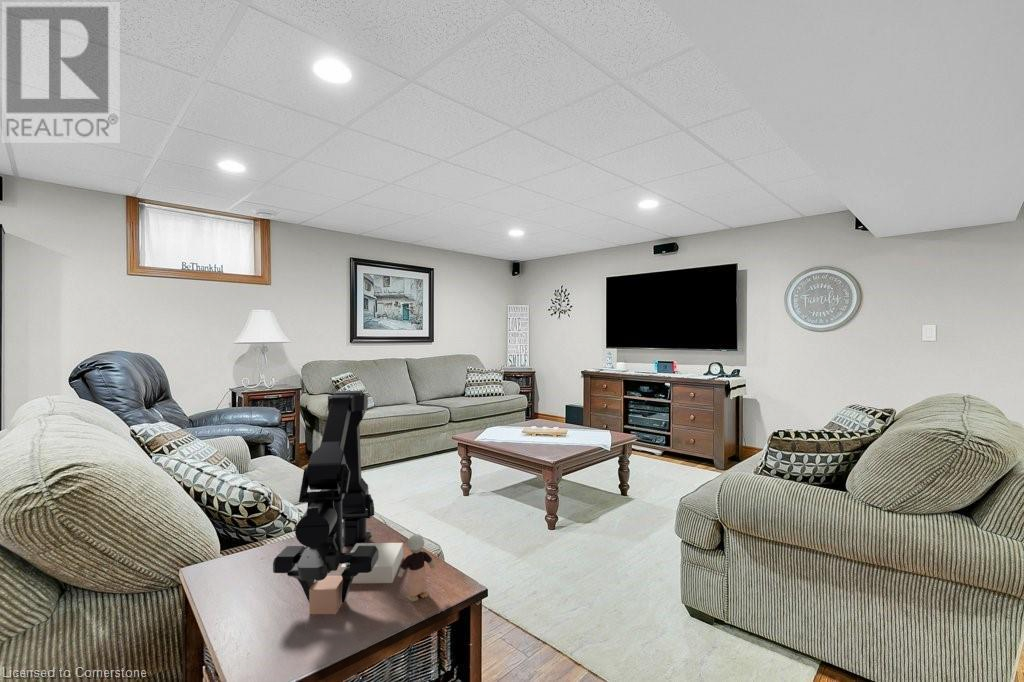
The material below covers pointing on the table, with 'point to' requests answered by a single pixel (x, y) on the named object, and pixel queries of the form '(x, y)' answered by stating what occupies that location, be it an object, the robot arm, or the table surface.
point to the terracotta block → (326, 595)
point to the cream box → (381, 563)
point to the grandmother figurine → (416, 568)
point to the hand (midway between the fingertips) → (327, 601)
